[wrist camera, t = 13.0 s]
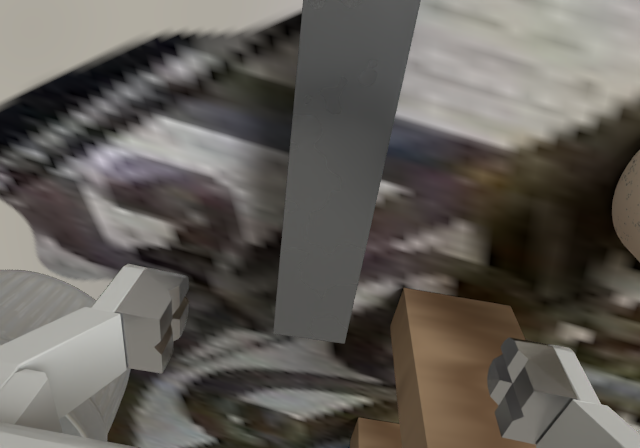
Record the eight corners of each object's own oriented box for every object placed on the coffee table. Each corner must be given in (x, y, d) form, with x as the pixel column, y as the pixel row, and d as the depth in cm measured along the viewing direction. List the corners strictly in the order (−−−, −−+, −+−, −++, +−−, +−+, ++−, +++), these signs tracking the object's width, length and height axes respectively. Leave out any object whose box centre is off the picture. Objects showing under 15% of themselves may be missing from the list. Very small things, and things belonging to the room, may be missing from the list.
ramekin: (-111, 263, 25) (-252, 358, 19) (88, 232, 23) (-3, 327, 17) (17, 404, 32) (-58, 505, 26) (180, 390, 30) (138, 497, 24)
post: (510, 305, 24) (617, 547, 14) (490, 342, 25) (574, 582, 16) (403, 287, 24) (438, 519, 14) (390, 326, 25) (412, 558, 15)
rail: (412, -28, 16) (425, -23, 13) (345, 295, 25) (344, 343, 21) (316, -42, 16) (306, -41, 13) (283, 286, 24) (273, 333, 21)
